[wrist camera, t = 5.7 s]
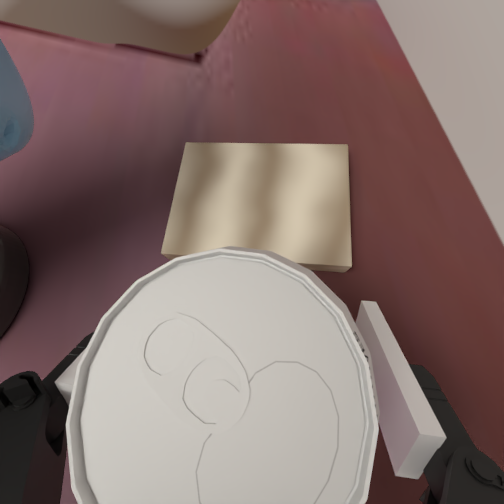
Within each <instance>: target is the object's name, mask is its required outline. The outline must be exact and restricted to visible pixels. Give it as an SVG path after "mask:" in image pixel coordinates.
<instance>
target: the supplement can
mask: <svg viewBox="0 0 504 504" xmlns="http://www.w3.org/2000/svg"><path fill="white" fill-rule="evenodd" d="M379 415H380V409H379V403H378V396H377V390H376V384H375V378H374V372H373V365H372V359H371V353H370V351H369V349H368V347H367V345H366V343H365V341H364V339H363V337H362V335H361V333H360V332H359V330H358V328H357V326H356V324H355V322H354V320H353V318H352V316H351V314H350V312H349V310H348V308H347V306H346V304H345V303H344V302H342V301H341V300H340V299H339V298H338V297H337V296H336V295H335V294H334V293H333V292H332V291H331V290H330V289H329V288H328V287H327V286H326V285H325V284H324V283H323V282H322V281H321V280H320V279H319V278H318V277H317V276H316V275H315V274H314V273H313V272H312V271H311V270H309V269H307V268H305V267H303V266H301V265H299V264H297V263H295V262H293V261H291V260H289V259H287V258H285V257H283V256H281V255H279V254H276V253H274V252H272V251H267V250H259V249H251V248H243V247H234V246H227V247H222V248H217V249H213V250H208V251H203V252H199V253H194V254H189V255H186V256H181V257H177V258H174V259H173V260H171V261H169V262H168V263H166V264H164V265H162V266H161V267H159V268H157V269H156V270H154V271H152V272H150V273H149V274H147V275H145V276H144V277H142V278H140V279H138V280H137V281H135V282H134V283H133V285H132V286H131V287H130V288H129V289H128V290H127V291H126V292H125V293H124V294H123V295H122V296H121V297H120V299H119V300H118V301H117V302H116V303H115V304H114V305H113V306H112V307H111V308H110V309H109V310H108V311H107V313H106V314H105V315H104V316H103V317H102V318H101V320H100V322H99V324H98V326H97V328H96V330H95V332H94V334H93V336H92V338H91V340H90V342H89V344H88V346H87V348H86V350H85V352H84V354H83V356H82V358H81V360H80V362H79V364H78V366H77V370H76V375H75V380H74V385H73V390H72V395H71V400H70V405H69V410H68V415H67V421H66V434H67V445H68V456H69V467H70V478H71V489H72V491H73V493H74V495H75V498H76V500H77V502H78V504H365V502H366V501H367V498H368V492H369V486H370V480H371V474H372V468H373V461H374V455H375V449H376V443H377V437H378V431H379V427H378V421H379Z"/></svg>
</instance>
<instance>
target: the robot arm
mask: <svg viewBox="0 0 504 504" xmlns="http://www.w3.org/2000/svg"><path fill="white" fill-rule="evenodd" d="M33 128H34V116H33V110H32V105H31V101H30V98H29V95H28V93H27V90H26V87H25V85H24V83H23V80H22V78H21V76H20V74H19V72H18V70H17V68H16V66H15V64H14V62H13V60H12V58H11V56H10V55H9V53H8V51H7V50H6V48H5V46H4V44H3V43H2V41H1V39H0V161H1V160H3V159H5V158H7V157H9V156H11V155H13V154H15V153H17V152H18V151H20V150H21V149H23V148H24V147H25V145H26V144H27V143H28V142H29V140H30V138H31V136H32V133H33ZM28 276H29V262H28V256H27V252H26V250H25V247H24V245H23V243H22V242H21V240H20V239H19V238H18V236H17V235H16V234H14V233H13V232H12V231H10V230H9V229H7V228H5V227H3V226H0V337H1V336H2V334H3V333H4V332H5V331H6V329H7V328H8V326H9V325H10V324H11V322H12V320H13V319H14V317H15V315H16V313H17V312H18V309H19V307H20V305H21V303H22V301H23V298H24V295H25V291H26V288H27V283H28ZM355 324H356V326H357V328H358V330H359V332H360V333H361V335H362V337H363V339H364V341H365V343H366V345H367V347H368V349H369V351H370V353H371V359H372V365H373V372H374V378H375V384H376V390H377V396H378V403H379V409H380V415H379V421H378V422H379V425H380V428H381V431H382V434H383V438H384V441H385V444H386V447H387V450H388V454H389V457H390V460H391V463H392V466H393V470H394V473H395V476H400V477H406V478H412V479H419V477H420V476H421V474H422V473H423V472H424V474H425V476H426V479H427V481H428V484H429V486H428V487H427V489H426V490H425V491H424V493H423V494H422V496H421V497H420V499H419V500H420V501H422V502H424V503H423V504H504V472H503V471H502V470H501V469H500V468H499V467H498V466H497V464H496V463H495V462H494V461H493V460H492V459H490V458H489V457H488V456H486V455H485V454H484V453H482V452H481V451H478V449H477V448H476V447H475V445H474V444H473V442H472V441H471V439H470V437H469V435H468V434H467V432H466V430H465V429H464V427H463V425H462V424H461V422H460V420H459V419H458V417H457V415H456V414H455V412H454V410H453V409H452V407H451V405H450V404H449V403H448V402H447V399H446V397H445V395H444V394H443V392H441V388H440V387H439V385H438V383H437V382H436V380H435V378H434V377H433V376H432V375H431V374H430V373H429V372H428V371H427V370H426V369H425V368H424V367H423V366H420V365H411V364H408V362H407V360H406V359H405V357H404V355H403V353H402V351H401V349H400V347H399V345H398V343H397V341H396V339H395V337H394V335H393V334H392V332H391V330H390V328H389V326H388V324H387V322H386V320H385V318H384V316H383V314H382V312H381V310H380V309H379V307H378V305H377V303H376V302H373V301H362V300H361V304H360V308H359V312H358V316H357V319H356V323H355ZM94 332H95V331H94ZM94 332H93V333H91V334H89V335H88V336H86V337H85V338H84V339H83V340H82V341H81V342H80V343H79V344H78V345H77V346H76V348H74V349H73V350H72V351H71V352H70V353H69V355H67V356H66V357H65V358H64V359H63V360H62V361H61V362H60V363H59V364H58V365H57V366H56V367H55V368H54V369H53V370H52V371H51V372H50V373H49V375H48V376H47V377H46V378H45V379H44V380H43V381H41V379H40V377H39V376H38V374H37V373H35V372H33V371H26V372H22V373H19V374H16V375H14V376H12V377H10V378H8V379H7V380H5V381H4V382H2V383H1V384H0V504H60V499H61V491H62V483H63V475H64V467H65V459H66V451H67V434H66V421H67V415H68V410H69V405H70V400H71V395H72V390H73V385H74V380H75V375H76V370H77V366H78V364H79V362H80V360H81V358H82V356H83V354H84V352H85V350H86V348H87V346H88V344H89V342H90V340H91V338H92V336H93V334H94Z"/></svg>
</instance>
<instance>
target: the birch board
mask: <svg viewBox="0 0 504 504" xmlns="http://www.w3.org/2000/svg"><path fill="white" fill-rule="evenodd" d="M227 246H234V247H243V248H251V249H259V250H267V251H272V252H274V253H276V254H279V255H281V256H283V257H285V258H287V259H289V260H291V261H293V262H295V263H297V264H299V265H301V266H303V267H305V268H307V269H309V270H316V271H330V272H344V273H345V272H346V271H347V270H348V269H350V268H351V267H352V255H351V225H350V194H349V164H348V144H272V143H191V142H186V144H185V149H184V153H183V158H182V162H181V166H180V171H179V175H178V180H177V184H176V188H175V193H174V197H173V202H172V206H171V211H170V215H169V219H168V224H167V228H166V233H165V237H164V241H163V246H162V250H161V254H162V255H164V256H165V257H167V258H168V259H169V260H173V259H174V258H177V257H181V256H186V255H189V254H194V253H199V252H203V251H208V250H213V249H217V248H222V247H227Z"/></svg>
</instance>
